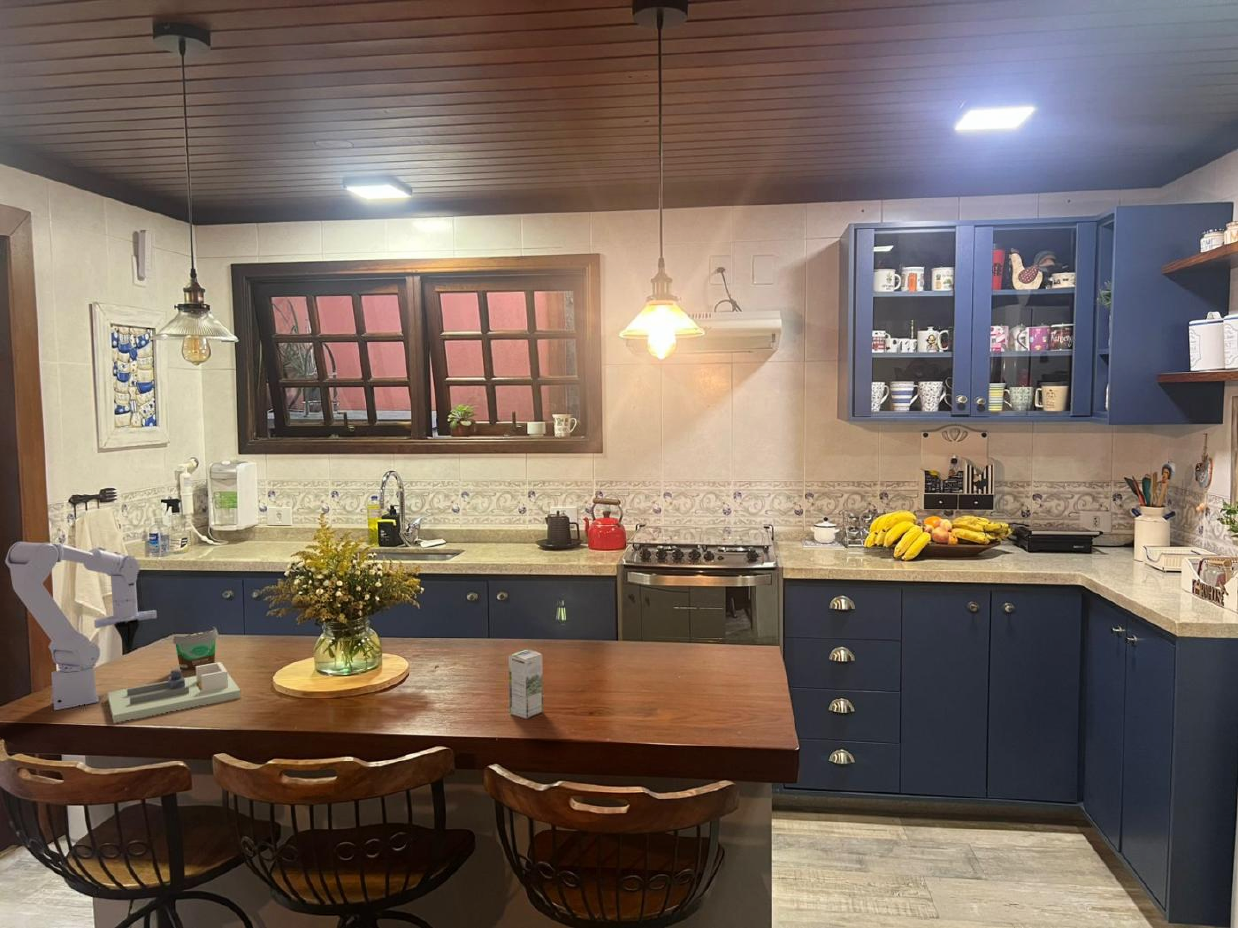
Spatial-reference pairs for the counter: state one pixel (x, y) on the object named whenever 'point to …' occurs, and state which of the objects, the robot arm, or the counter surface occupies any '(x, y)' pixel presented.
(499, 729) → the counter surface
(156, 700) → the board
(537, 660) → the syrup box
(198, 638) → the food container
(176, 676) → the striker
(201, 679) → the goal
